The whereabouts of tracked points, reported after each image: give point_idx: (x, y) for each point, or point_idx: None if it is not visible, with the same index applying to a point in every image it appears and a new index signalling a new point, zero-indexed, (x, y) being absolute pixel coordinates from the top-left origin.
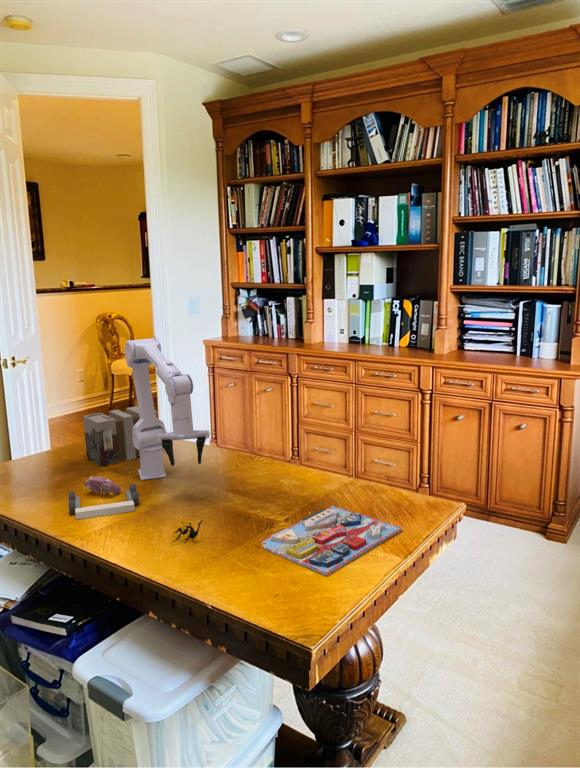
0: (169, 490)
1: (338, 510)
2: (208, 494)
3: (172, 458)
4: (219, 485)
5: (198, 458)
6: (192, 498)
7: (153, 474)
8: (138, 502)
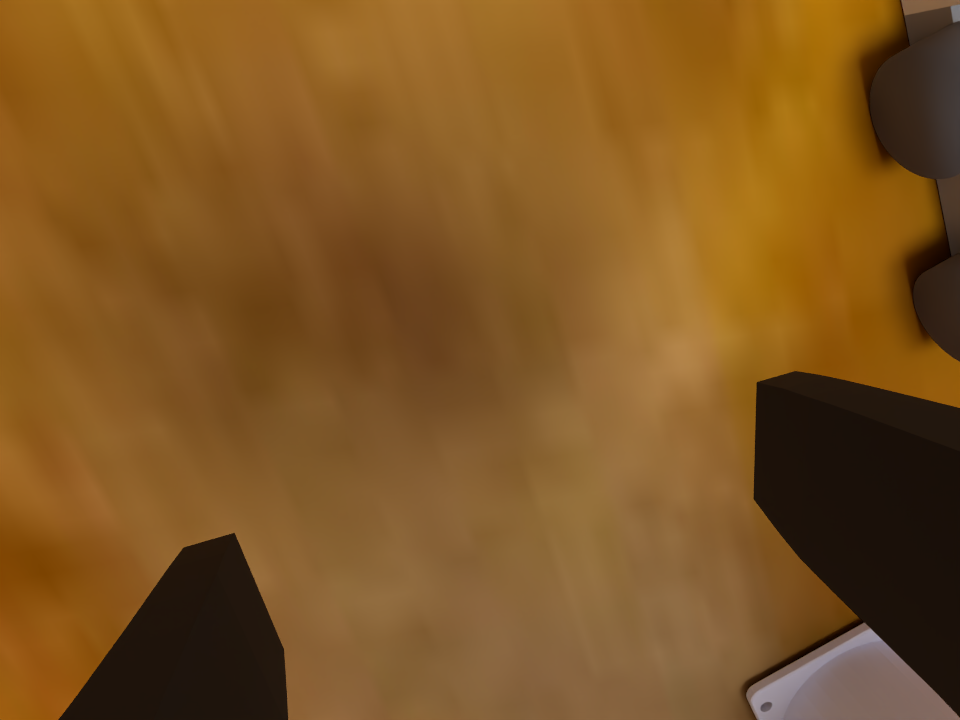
0: (658, 456)
1: None
2: (257, 435)
3: (898, 460)
4: None
5: (172, 622)
6: (385, 313)
7: (854, 669)
8: (888, 60)
